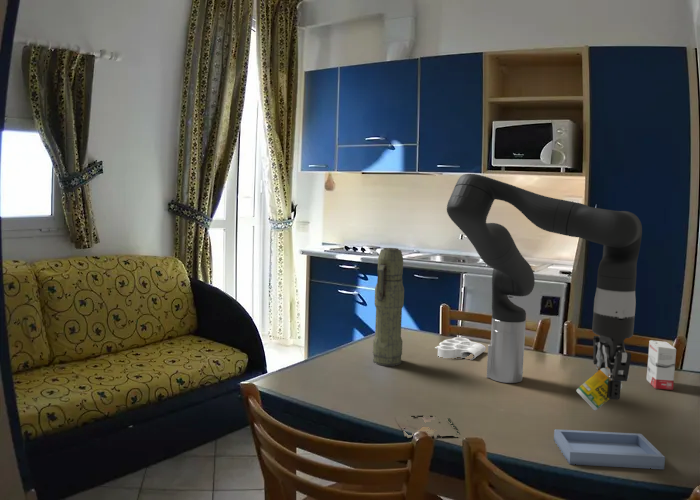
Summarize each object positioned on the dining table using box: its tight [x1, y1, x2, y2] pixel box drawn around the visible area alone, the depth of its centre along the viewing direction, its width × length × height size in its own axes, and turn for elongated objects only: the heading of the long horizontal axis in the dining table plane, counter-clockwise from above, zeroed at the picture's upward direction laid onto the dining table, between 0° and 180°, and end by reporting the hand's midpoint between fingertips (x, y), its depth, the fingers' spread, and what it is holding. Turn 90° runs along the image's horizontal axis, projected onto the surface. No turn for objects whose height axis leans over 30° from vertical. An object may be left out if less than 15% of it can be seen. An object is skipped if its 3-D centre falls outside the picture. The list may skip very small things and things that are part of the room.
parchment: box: [401, 415, 460, 439], centre depth 132 cm, size 12×13×1 cm
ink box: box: [646, 339, 677, 391], centre depth 165 cm, size 9×5×12 cm, turn 168°
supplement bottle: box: [576, 363, 630, 411], centre depth 119 cm, size 5×5×10 cm
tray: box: [553, 429, 666, 470], centre depth 120 cm, size 18×11×2 cm, turn 86°
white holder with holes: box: [433, 336, 487, 361], centre depth 193 cm, size 3×18×15 cm
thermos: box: [372, 247, 405, 367], centre depth 179 cm, size 9×12×35 cm
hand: (607, 393), depth 119 cm, fingers closed on supplement bottle, 5 cm apart
